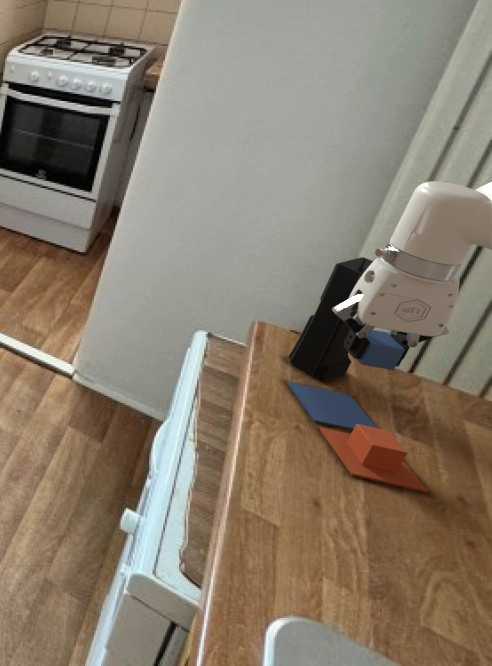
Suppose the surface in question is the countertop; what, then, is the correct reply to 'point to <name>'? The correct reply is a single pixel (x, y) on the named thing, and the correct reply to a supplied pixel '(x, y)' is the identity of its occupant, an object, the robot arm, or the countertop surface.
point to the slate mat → (330, 407)
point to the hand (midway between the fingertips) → (370, 355)
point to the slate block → (381, 351)
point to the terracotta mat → (400, 478)
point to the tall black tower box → (329, 326)
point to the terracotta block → (376, 448)
